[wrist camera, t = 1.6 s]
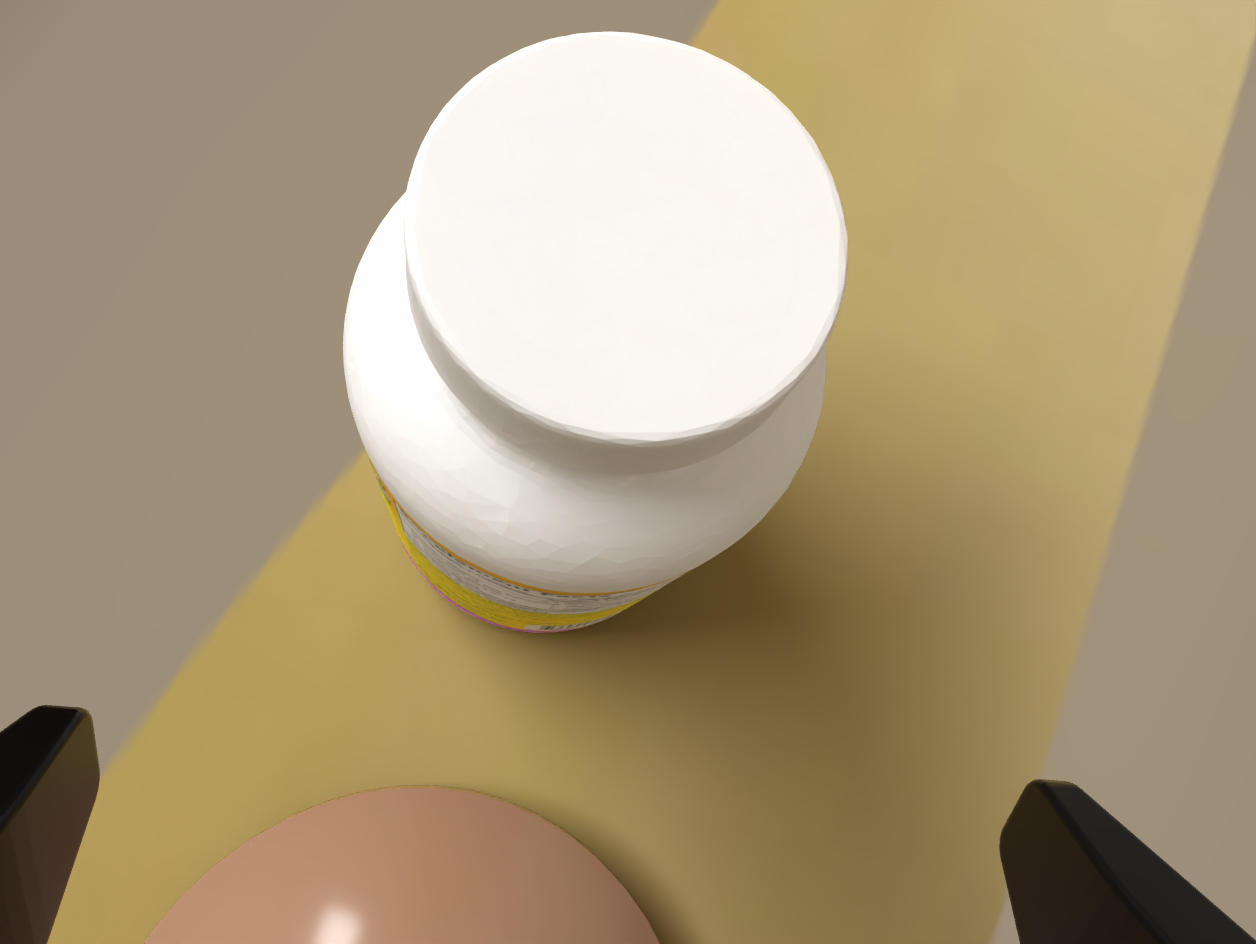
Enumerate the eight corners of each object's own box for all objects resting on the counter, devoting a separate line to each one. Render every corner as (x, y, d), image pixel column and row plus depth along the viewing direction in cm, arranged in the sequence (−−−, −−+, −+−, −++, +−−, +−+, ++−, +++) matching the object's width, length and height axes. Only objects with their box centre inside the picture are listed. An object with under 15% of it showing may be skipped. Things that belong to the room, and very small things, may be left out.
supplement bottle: (484, 298, 23) (516, -162, 11) (731, 437, 24) (1031, 136, 11) (328, 545, 22) (158, 321, 9) (598, 694, 22) (784, 670, 9)
